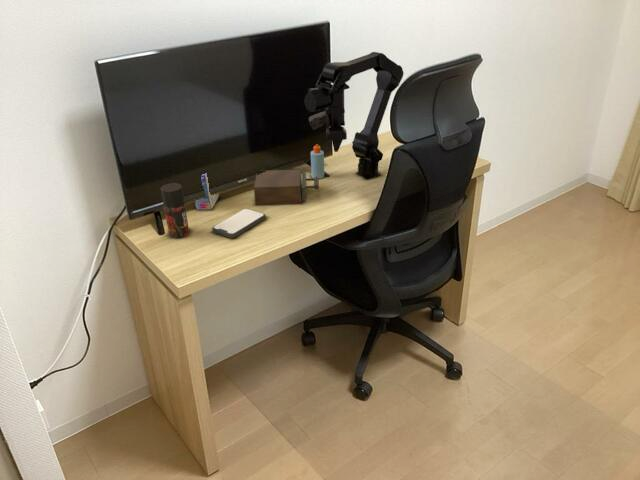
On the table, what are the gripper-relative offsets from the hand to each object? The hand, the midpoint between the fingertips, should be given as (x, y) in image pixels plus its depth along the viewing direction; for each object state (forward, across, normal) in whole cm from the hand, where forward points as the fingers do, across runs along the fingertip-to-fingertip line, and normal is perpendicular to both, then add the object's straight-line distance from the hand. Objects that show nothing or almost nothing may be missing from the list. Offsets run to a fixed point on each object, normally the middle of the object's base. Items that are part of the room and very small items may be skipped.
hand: (336, 151), depth 190 cm
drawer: (+12, +5, -15) cm, 20 cm away
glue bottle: (+13, -10, -6) cm, 18 cm away
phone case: (+13, +25, -30) cm, 41 cm away
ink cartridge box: (+13, +9, -43) cm, 46 cm away
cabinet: (+13, +5, -19) cm, 24 cm away
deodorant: (+13, +29, -48) cm, 58 cm away
